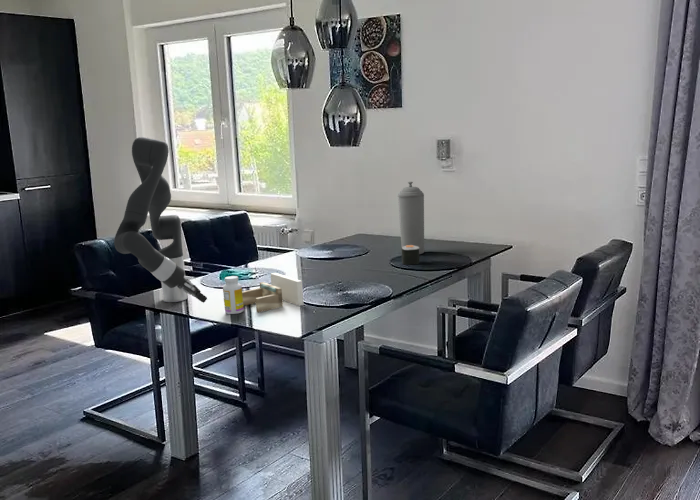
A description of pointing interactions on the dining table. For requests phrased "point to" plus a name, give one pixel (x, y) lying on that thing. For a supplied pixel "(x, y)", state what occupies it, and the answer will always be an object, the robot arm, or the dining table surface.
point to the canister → (412, 217)
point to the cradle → (264, 297)
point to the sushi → (410, 255)
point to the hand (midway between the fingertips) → (204, 300)
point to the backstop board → (288, 288)
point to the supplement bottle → (233, 295)
